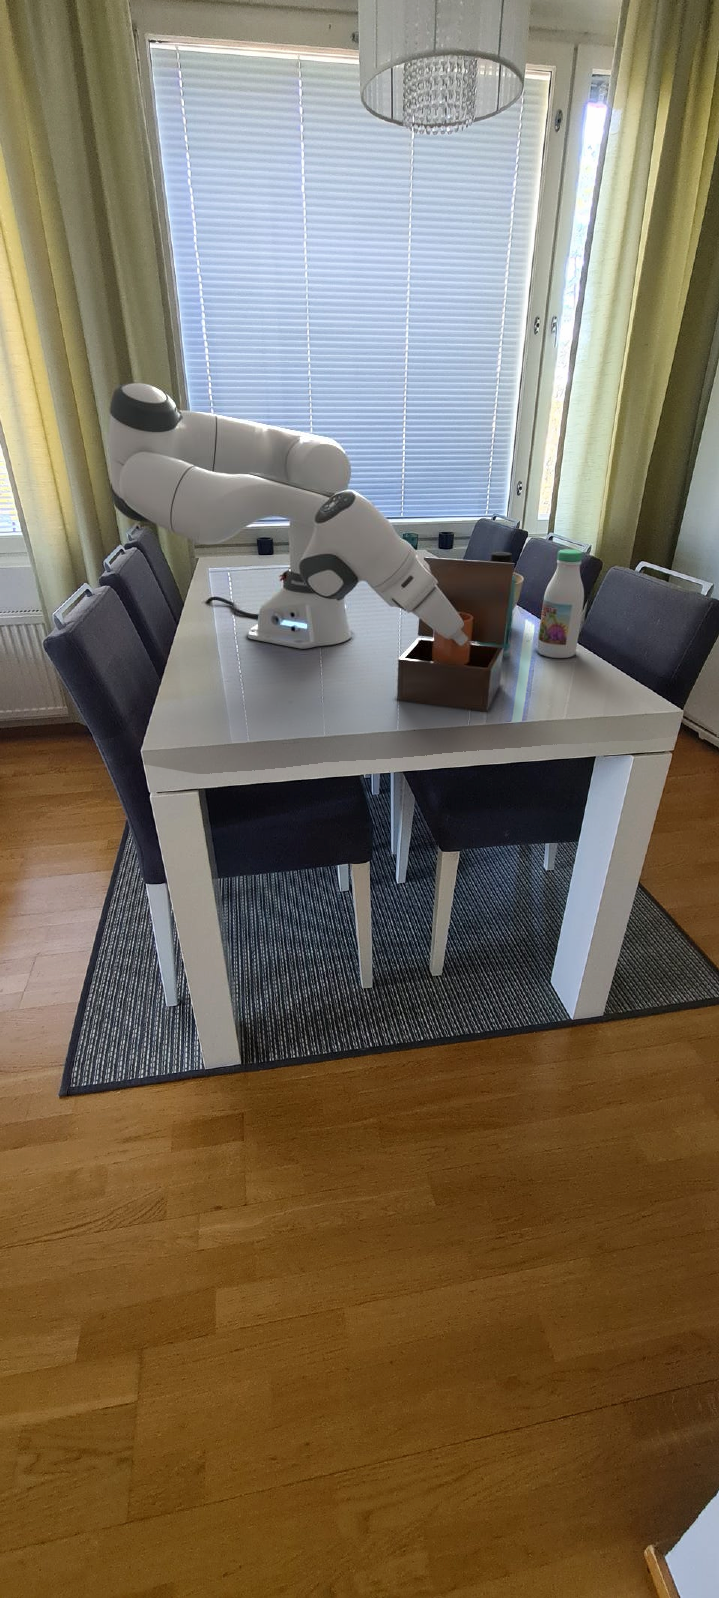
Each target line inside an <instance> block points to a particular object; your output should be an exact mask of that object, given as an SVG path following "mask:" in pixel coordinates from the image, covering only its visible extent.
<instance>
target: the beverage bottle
mask: <svg viewBox="0 0 719 1598" xmlns="http://www.w3.org/2000/svg"><path fill="white" fill-rule="evenodd" d="M489 562H503V563H513V554H512V553H511V552H507V551H494V552H492V553H491V554H490V560H489ZM515 581H516V577H515V575H514V574H513V579H512V587H511V595H510V603H509V611H508V619H507V627H506V635H505V642H504V644H494V643H484V642H477V644H481V645H490V646H499V647H504V649H503V653H506V652H508V651H509V649H510V646H511V639H512V629H513V627H512V626H513V619H514V618H513V617H514V612H513V611H514V609H513V604H514V590H515Z"/></svg>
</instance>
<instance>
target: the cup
mask: <svg viewBox="0 0 719 1598" xmlns="http://www.w3.org/2000/svg"><path fill="white" fill-rule="evenodd" d="M457 613H458V614H459V616H460V617H461V619H462V620H463V623H464V626H463V627H462V628H461V630H462V632H463V633H464V634H465V635H466V636H467V637H468V640H467V642H466V643H465V644H464V645H463V646H460V645H459V644H458V643H457V642H456V641H455V640H454V639H452V638H451V639H450V640H448V639H446V638H444V637H443V636H441V635H440V634H439V633H437V632H436V631H435V630H434V629H433V637H432V639H433V643H432V661H433V662H441V663H450V664H459V665H465V664H467V663H468V662H469V659H470V651H471V644H472V641H471V639H472V628H473V616H472V615H470V614H467V613H463V612H457Z"/></svg>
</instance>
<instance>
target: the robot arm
mask: <svg viewBox="0 0 719 1598" xmlns="http://www.w3.org/2000/svg"><path fill="white" fill-rule="evenodd" d="M109 413H110V420H109V428H108V439H107V440H108V441H107V443H108V444H107V451H108V455H109V456H108V457H109V459H108V461H109V471H110V472H109V473H110V481H111V483H110V485H109V490H110V494H111V499H112V502H113V504H114V507H115V508H116V509H117V510H118V512H120V513H121V514H122V515H123V516H124V517H126V518H128V519H130V520H133V521H136V522H140V523H141V522H142V523H152V524H153V523H154V524H155V525H157V526H159V527H161V528H163V529H165V530H166V531H169V532H170V533H174V534H175V535H178V536H180V537H183V538H184V539H187V540H190V541H192V542H195V543H199V544H205V545H215V544H220V543H222V542H223V543H224V542H226V541H227V540H229V539H231V538H233V537H234V536H236V535H237V534H238V533H239V532H241V531H242V530H243V529H245V528H247V527H249V526H250V525H252V524H253V523H256V522H257V521H260V520H262V519H266V518H272V517H275V518H277V517H278V518H282V519H287V520H289V525H288V530H287V532H288V549H289V550H288V551H289V568H287V570H286V571H284V572H282V573H281V574H280V575H278V577H279V582H282V584H283V585H282V588H280V589H279V590H278V591H276V592H275V593H274V594H273V595H272V596H271V597H269V598H268V599H267V600H266V601H265V602H264V603H263V604H262V605H261V606H260V608H259V611H258V613H251V612H247V611H244V610H242V609H240V608H237V605H236V603H235V602H234V601H231V600H228V599H226V598H224V597H221V596H211V597H209V598H208V599H207V600H206V601H205V604H210V603H212V602H213V601H217V602H222V603H224V604H226V605H229V606H231V607H232V610H233V611H234V612H235V613H236V614H239V615H241V616H244V617H248V618H253V619H257V624H255V625H254V626H252V627H251V628H249V630H248V631H247V637H248V639H250V640H253V641H254V640H255V641H259V642H260V641H261V642H265V643H270V644H275V645H280V646H286V647H290V648H296V649H301V650H304V649H305V650H306V649H310V648H315V647H323V646H332V645H337V644H341V643H344V642H346V641H348V640H350V639H351V638H352V633H351V632H352V631H351V630H350V625H349V621H348V616H347V610H346V609H347V605H346V599H345V598H346V596H347V595H349V593H351V592H352V591H353V590H354V589H355V588H356V586H357V585H358V584H359V583H360V582H365V583H367V584H368V586H369V587H370V588H371V589H372V590H373V591H374V592H375V593H376V594H377V595H378V596H379V597H380V598H381V599H382V600H383V601H384V602H385V603H386V604H387V606H389V607H391V608H392V607H393V608H394V607H395V608H399V609H401V610H403V611H404V612H407V613H408V614H410V613H412V614H413V615H414V616H416V617H417V618H418V619H419V618H420V619H421V620H423V621H424V622H425V623H426V624H427V625H429V626H430V627H431V628H432V629H434V630H435V631H436V632H437V633H439V634H440V635H441V636H443V637H444V638H446V639H448V640H450V639H451V638H452V639H454V640H455V641H456V642H457V643H458V644H459V645H460V646H463V645H464V644H465V643H466V642H467V640H468V637H467V636H466V635H465V634H464V633H463V632H462V630H461V628H462V627H463V626H464V623H463V620H462V619H461V617H460V616H459V614H458V613H457V611H456V610H455V609H454V607H453V606H452V605H451V603H450V602H449V601H448V599H447V598H446V597H445V595H444V594H443V593H442V592H441V590H440V589H439V588H438V587H437V586H436V585H437V584H438V581H437V580H436V578H435V577H434V576H433V575H432V574H431V571H430V567H429V565H428V564H427V562H426V561H425V560H424V557H422V556H421V554H420V553H418V551H417V550H416V549H415V548H414V547H413V546H412V545H411V543H410V542H409V541H407V540H405V539H404V538H402V537H401V536H400V535H398V533H397V531H396V530H395V528H394V525H393V524H392V523H391V521H389V519H388V518H387V517H386V516H385V515H384V514H383V513H382V511H381V510H379V509H378V508H377V507H376V506H375V504H374V503H373V502H371V501H370V500H369V499H368V498H365V497H364V496H363V495H361V494H360V493H359V492H357V491H355V490H352V489H349V485H350V481H351V478H352V477H351V476H352V467H351V463H350V459H349V457H348V455H347V452H345V450H344V449H343V447H342V446H341V445H340V444H339V443H338V442H337V441H335V440H333V439H331V438H329V437H325V436H320V435H316V434H311V433H307V432H306V433H305V432H301V431H298V430H293V429H292V430H291V429H286V428H282V427H277V426H272V425H267V424H263V423H258V422H254V421H249V420H244V419H239V418H233V417H229V416H224V415H220V414H219V415H218V414H215V413H210V412H209V413H208V412H203V411H196V410H180V409H178V408H177V405H176V403H175V402H174V400H173V399H172V398H171V397H170V396H169V395H168V394H167V393H166V392H165V391H163V389H161V388H158V387H156V386H154V385H150V384H148V383H143V382H125V383H123V384H121V385H120V386H118V387H116V388H115V389H114V391H113V393H112V396H111V401H110V405H109Z"/></svg>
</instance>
